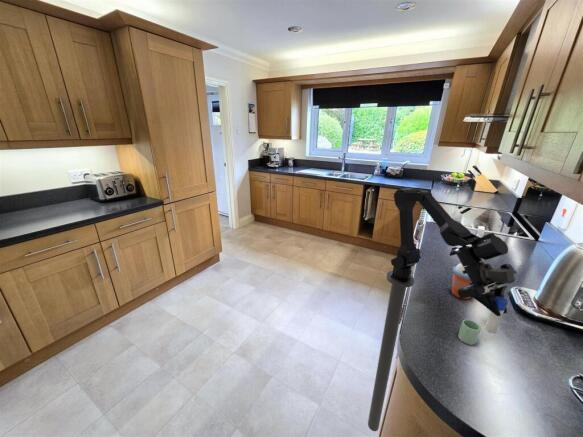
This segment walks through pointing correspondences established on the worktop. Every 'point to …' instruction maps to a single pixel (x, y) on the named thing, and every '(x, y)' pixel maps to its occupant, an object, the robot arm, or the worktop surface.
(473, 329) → the glass
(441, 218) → the robot arm
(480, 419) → the worktop surface
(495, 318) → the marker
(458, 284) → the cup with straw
